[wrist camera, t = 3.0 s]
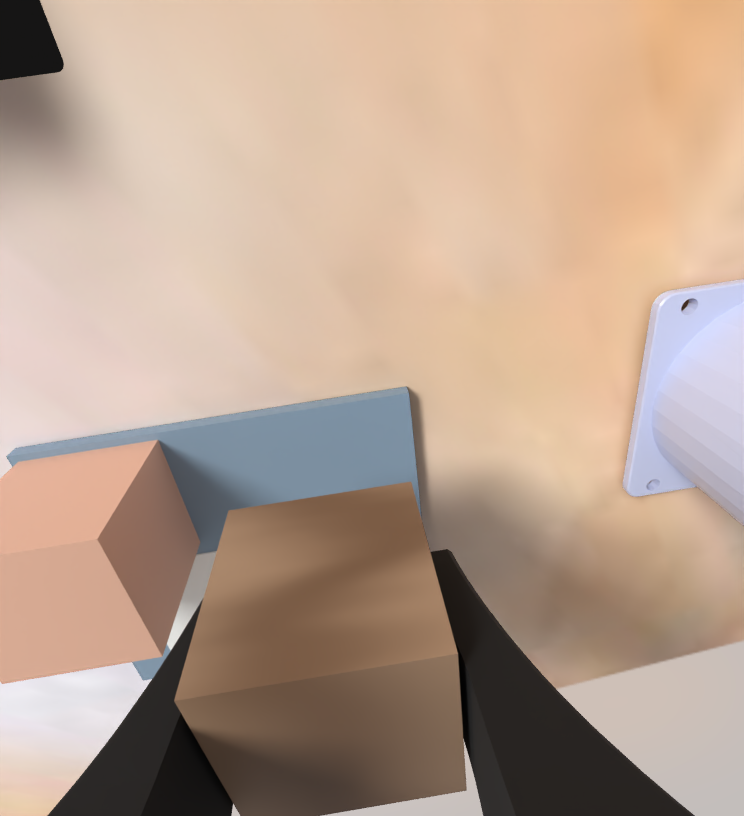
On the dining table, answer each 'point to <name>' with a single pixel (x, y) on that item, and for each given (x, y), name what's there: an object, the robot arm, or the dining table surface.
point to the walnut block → (326, 658)
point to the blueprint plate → (266, 466)
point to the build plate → (26, 41)
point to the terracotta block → (90, 560)
